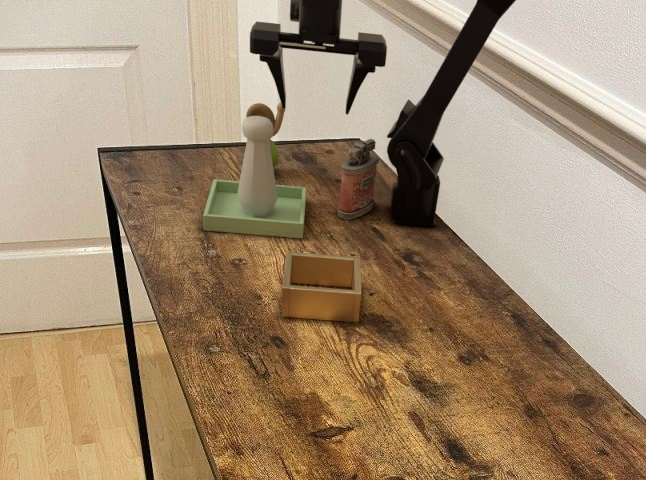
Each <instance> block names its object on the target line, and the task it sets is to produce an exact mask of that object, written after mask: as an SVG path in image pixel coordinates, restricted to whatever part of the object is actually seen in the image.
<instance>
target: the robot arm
mask: <svg viewBox="0 0 646 480" xmlns="http://www.w3.org/2000/svg"><path fill="white" fill-rule="evenodd" d="M516 1H517V0H476V2H475V5H474V6H473V8H472V9H471V11H470V14H469V15H468V17H467V18H466V20H465V22H464V24H463V26H462V28H461V30H460V31H459V33H458V35H457V37H456V39H455V40H454V42H453V44H452V45H451V47H450V49H449V51H448V53H447V54H446V56H445V57H444V59H443V62H442V64H441V65H440V67H439V68H438V70H437V72H436V74H435V76H433V77H434V78H433V79H432V81H431V83H430V85H429V86H428V88H427V90H426V91H425V93H424V94H423V96H422V97H421V98H420V100H418V101H417V103H416V104H414V102H413V101H411V100H410V99H407V101H406V102H405V104H404V105H403V107H402V109H401V110H400V113H399V114H398V117H397V120H395V121H394V123H393V125H392V127H391V128H390V130H389V132H388V133H387V135H386V138H388V139H389V141H388V145H387V147H386V153H387V157H388V160H389V162H390V163H391V165H392V167H394V168H395V170H396V175H397V177H396V181H393V182H392V186H391V187H392V189H391V197H390V203H389V204H390V205H389V210H390V211H389V212H390V215H391V216H392V219H393V223H394V224H395V225H404V226H414V227H415V226H416V227H426V228H427V227H428V228H430V227H431V228H436V225H437V221H436V213H437V207H438V202H439V201H438V200H439V194H440V188H441V180H440V175H439V172H440V170H441V167H442V165H443V162H444V159H445V158H444V156H443V154H442V153H441V151H440V150H439V149H438V147H437V146H436V144H435V143H434V140H435V137H436V135H437V133H438V130H439V127H440V125H441V122H442V118H443V116H444V114H445V112H446V110H447V108H448V106H449V105H450V103H451V101H452V100H453V98H454V97H455V94H456V93H457V91H458V89H459V88H460V87H461V85H462V83H463V81H464V80H465V78H466V76H467V75H468V73H469V71H470V69H471V68H472V66H473V64H474V63H475V61H476V59H477V57H478V56H479V54H480V53H481V51H482V49H483V47H484V46H485V44H486V42H487V41H488V39H489V37H490V35H491V34H492V32H493V31H494V29H495V27H496V25H497V24H498V22H499V20H501V18H502V17H503V16H504V14H505V13H507V11H509V9H510V8H511V7H512V5H514V3H515V2H516ZM289 5H290V6H289V21H290V22H295V23H298V33H294V32H284V31H281V30H282V27H281V23H274V22H265V21H255V22H254V24H253V25H251V29H250V31H249V53H250V54H252V55H259V61H260V62H263V63H266V65H267V67H268V69H269V72H270V74H271V76H272V78H273V81H274V84H275V87H276V91H277V94H278V97H279V101H280V103H281V104H282V107H283V108H285V109H286V108H287V92H286V89H287V88H286V79H285V69H284V51H283V49H290V50H298V51H308V52H319V53H328V54H336V55H337V54H338V55H347V56H353V61H352V70H351V74H350V78H349V79H350V80H349V85H348V89H347V95H346V102H345V115H349V114H350V112H351V109H352V106H353V104H354V102H355V99H356V96H357V95H358V92H359V90H360V88H361V86H362V85H363V83H364V81H365V79H366V78H367V75H368V74H369V73H371V74H374V73H376V69H377V68H383V67H386V62H387V55H388V45H387V41H386V38H385V37H384V36H383V34H379V33H371V32H370V33H368V32H358V33H357V39H352V38H343V37H341V30H342V29H341V27H342V14H343V13H342V12H343V0H290V4H289ZM309 42H310V43H309ZM376 67H377V68H376Z"/></svg>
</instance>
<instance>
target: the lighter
mask: <svg viewBox="0 0 646 480" xmlns="http://www.w3.org/2000/svg"><path fill="white" fill-rule="evenodd" d="M375 140H376V139H373V138H369V139H366V140H365V141H362V143H361V142H358V141H356V142H355V143H354V144H353V146H352V147H351V148H349V149H348V159H346V160H345V161H343V162H342V164H340V165H341V167H340V171H341V183H340V196H339V207H338V208H337V216H338V217H339V218H341V219H344V220H352V219H355V218H358V217H361V216H363V215H365V214H367V213H368V212H370V211H371V210H372V208H374V206H375V198H374V195H375V185H376V177H377V167H378V164H379V161H380V160H379V159H380V157H379V155H377V154H376V153H371V152H372V151H374V150H376V144H377V143H376V141H375Z"/></svg>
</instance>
